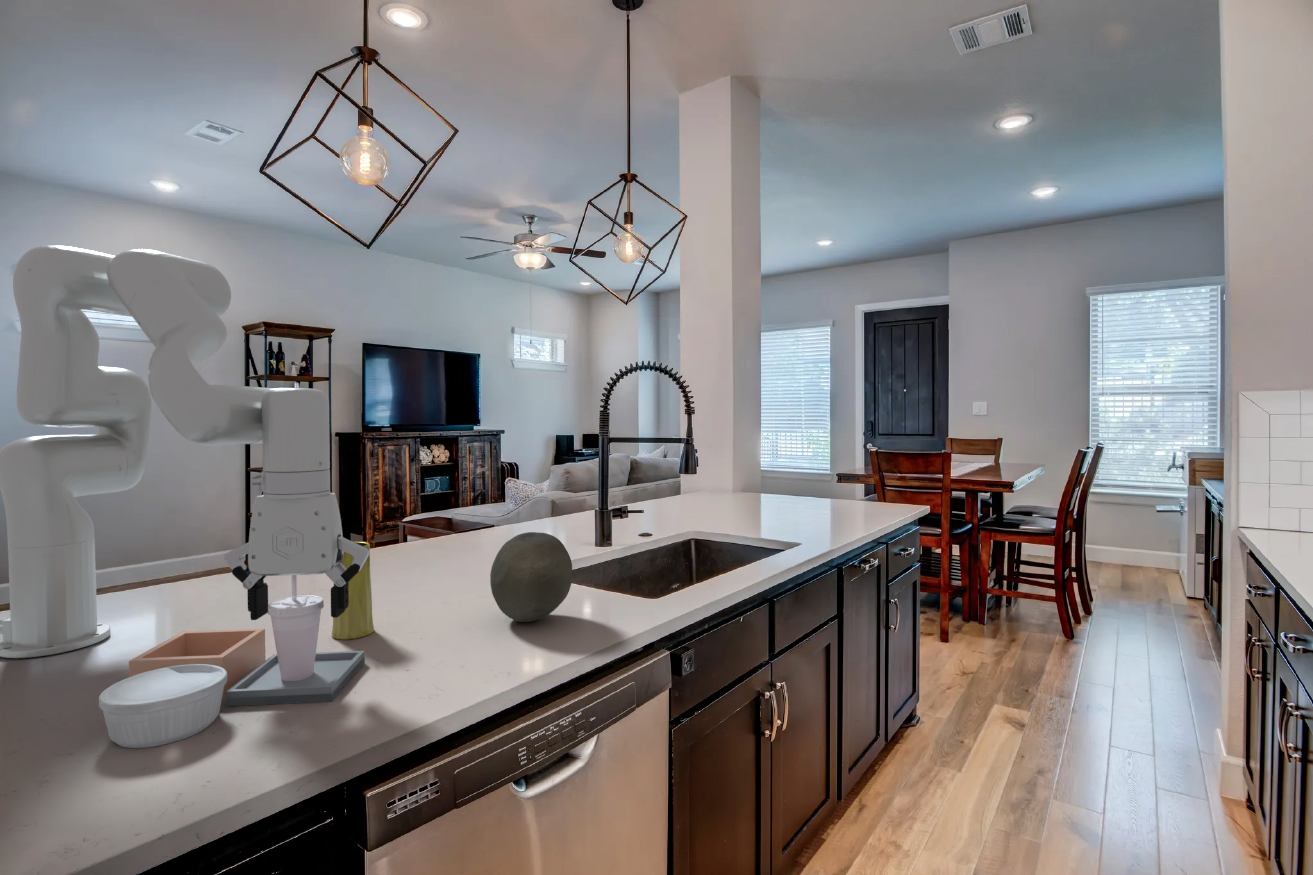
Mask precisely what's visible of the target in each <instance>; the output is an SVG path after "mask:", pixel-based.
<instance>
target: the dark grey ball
mask: <svg viewBox="0 0 1313 875" xmlns="http://www.w3.org/2000/svg"><path fill="white" fill-rule="evenodd" d="M489 576H490V577H489V578H490V580H489V581H490V590H491V594H492V597H493V599H494V601H495V603H496V605H497V607H498V608H499V610H500V611H501V612H502V613H503V614H504V615H505V616H506V617H507V618H509V619H511V620H514V621H517V622H519V623H531V622H536V621H539V620H542V619H544V618H545V617H548V616H549V615H550V614H552V613H553V612H554V611H555V610H556V609H558V607H559V606H560V605H561V604H562V603H563V602H564V601H565V599H566V598H567V596H568V594H569V593H570V589H571V587H572V582H573V563H572V558H571V556H570V554H569V552H568V550H567V548H566V546H565V545H564V543H562V541H561V540H560V539H559V538H557V537H556V536H554V535H552V534H550V533H545V532H536V531H528V532H523V533H519V534H517V535H515V536H513V537H512V538H510V539H508V540H507V541H506V542H505V543H504V544H503V545H502V546H501V547H500V549H499V550H498V552H497V554H496V556H495V557H494V560H493V562H492V565H491V569H490V575H489Z"/></svg>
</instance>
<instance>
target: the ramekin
mask: <svg viewBox="0 0 1313 875" xmlns="http://www.w3.org/2000/svg"><path fill="white" fill-rule="evenodd" d="M226 682H227V671H226V670H225V669H223V668H222V667H219V666H215V665H208V664H189V665H179V666H171V667H165V668H160V669H156V670H152V671H147V672H144V673H140V674H137V675H134V676H131V677H129V676H128V677H127V678H124V679H121V680H120V681H117V682H115V683H113V684H112V685H110V686H108V687H107V688H106V689H104V690H102V692H101V693H100V695H99V696H98V706H99V709H100V710H101V711H102V713H103V717H104V721H105V725H106V729H107V732H108V735H109V738H110V739H111V740H112V742H114V743H115V744H116V745H118V746H119V747H123V748H128V749H129V748H130V749H142V748H152V747H159V746H164V745H168V744H171V743H175V742H178V741H181V740H184V739H186V738H189V737H190V738H191V737H192V736H194V735H196V734H198V733H200V732H202V731H203V730H205V729H207V728H208V727H209V726H211V724H212V723H213V722H214V721H215V719H217V718H218V715H219V712H220V710H221V704H222V699H223V697H222V695H223V689H224V685H225V684H226Z"/></svg>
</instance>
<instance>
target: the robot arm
mask: <svg viewBox="0 0 1313 875" xmlns="http://www.w3.org/2000/svg"><path fill="white" fill-rule="evenodd" d="M12 277H13V278H12V290H13V297H14V302H15V304H16V309H17V313H18V318H19V321H20V329H21V330H20V346H19V358H18V371H17V382H16V383H17V386H16V409H17V411H18V413H19V414H18V415H20V417H21V418H22V420H24V421H25V422H26V423H29V424H31V425H35V426H39V427H44V428H45V427H48V428H97V429H98V432H97V433H98V434H51V435H36V436H34V435H33V436H29V437H23V438H18V439H15V440H13V441H11V442H9V443H8V444H6V445H4V446H3V447H2V448H1V449H0V491H1V492H0V493H1V496H2V497H1V498H2V502H3V504H4V510H5V517H6V530H7V533H6V534H7V553H8V554H7V556H8V557H7V558H8V580H9V581H8V584H9V613H10V614H9V615H10V617H0V634H1V635H2V641H0V658H7V659H26V658H27V659H28V658H38V657H44V656H51V655H57V654H62V653H67V652H70V651H75V650H79V649H83V648H85V647H89V646H91V645H95V644H97V643H100V642H101V641H104V640H105V639H107V638H108V637H109V636H110V635H111V632H112V631H111V626H110V625H108V624H106V623H102V622H101V623H100V622H98V610H97V609H98V607H97V606H98V605H97V575H96V574H97V572H96V571H97V570H96V565H97V564H96V538H95V537H96V536H95V534H96V533H95V525H94V522H93V520H92V517H90V514H88V512H87V511H86V510H85V509H84V508H83V507H82V506H81V505H80V504H79V503H78V501H77V500H76V499H75V498H77V497H83V496H93V495H100V494H101V495H102V494H110V493H118V492H123V491H127V490H131V489H133V488H134V487H135V486H137V485H138V483H140V481H141V480H142V478H143V476H144V473H145V470H146V466H147V459H148V458H147V457H148V448H149V447H148V446H149V438H150V429H151V428H150V426H151V419H152V405H153V403H152V399H153V401H154V403H155V405H156V407H157V408H158V409H159V410H160V412H161V413H162V415H163V416H164V417H165V418H166V420H167V421H168V422H169V424H170V425H171V427H173V428H174V430H175V431H176V432H177V433H178V434H180V436H182V437H184V439H186V440H187V441H189V442H191V443H193V444H197V445H201V446H223V445H224V446H225V445H226V446H227V445H256V444H257V445H259V444H262V471H261V472H260V474H259V475H253V476H252V479H251V484H252V486H254V487H255V486H256V487H261V492H263V494H262V495H257V496H255V500H254V503H253V507H252V508H253V509H252V513H251V519H250V525H249V527H250V528H249V532H248V533H249V534H248V535H249V536H248V542H246V543H244V544H242V545H240V546H238V547H236V548H233V550H230V551H228V552H226V553H225V554H224V555H223V557H224V560H225V561H226V564H227V565H228V567H229V568H230V569H231V574H232V575H233V576H234V578H236V579H237V580H238V581H240V583H241V584H242V587H243V589H244V590H245V589H246V591H247V611H248V612H250V614H249V615H250V620H251V621H257V620H258V619H260V618H261V617H263V616H265V615H267V614H268V605H269V585H268V583H267V582H265V581H264V580H265V579H266V578H267V577H268V576H270V577H271V576H272V577H273V576H292V575H296V576H314V575H323V574H325V575H326V576H327V577H328V578H329V580H331V581H332V583H333V586H331V588H330V617H332V619H333V618H337V617H339V616H340V615H341V614H342V613H343V612H345V609H346V608H347V607H348V604H349V583H348V582H349V581H350V580H351V579H352V578H353V577H354V576H355V575H356V574H357V573H358V572H359V571H360V570H361V569H362V567H363V565H364V563H365V561H366V559H367V558H368V556H369V554H370V555H371V550H370V551H369V549H367V548H365V547H363V546H361V545H358V544H356V543H354V542H355V541H352V540H349V539H347V538H345V537H344V536H343V527H342V518H341V513H340V508H339V504H338V499H337V496H336V493H335V492H331V469H330V468H331V466H330V465H331V461H330V457H331V456H330V455H331V454H330V453H331V452H330V451H331V450H330V449H331V448H330V446H331V444H330V403H329V402H330V401H329V397H328V395H327V394H326V393H325V392H324V391H323V390H320V389H317V388H307V387H306V388H304V387H277V388H274V387H273V388H271V387H261V386H260V387H259V386H258V387H257V386H246V385H244V386H242V385H225V384H224V385H222V384H209V382H207V381H206V380H205V379H204V378H203V376H202V375H201V373H200V372H198V370H197V368H196V366H194V365H195V364H198V363H199V362H200V363H201V362H202V361H204V360H206V359H208V358H211V357H212V356H213V355H214V354H216V353H217V352H218V351H219V350H220V349H221V348H222V346H223V345H224V344H225V342H226V340H227V337H228V336H227V335H228V333H227V332H228V331H227V327H226V325H225V323H224V322H223V320H222V319H221V318H220V317H221V316H223V315H224V314H225V313H226V311H227V310H228V309H229V307H230V306H231V300H232V292H231V288H230V284H229V281H228V280H227V278H226V277H225V275H224V274H223V273H222V272H221V270H219V269H218V268H216V267H215V266H213V265H211V264H209V263H207V262H204V261H202V260H201V261H200V260H196V259H191V258H187V257H183V256H179V255H175V254H171V253H167V252H161V251H159V250H154V249H145V248H144V249H143V248H141V249H140V248H138V249H136V248H135V249H130V250H126V251H122V252H120V253H118V254H116V255H112V254H108V253H104V252H98V251H95V250H90V249H84V248H78V247H73V246H68V245H67V246H66V245H51V244H50V245H49V244H48V245H39V246H36V247H35V246H34V247H33V248H31V249H29V250H28V251H26V252H25V253H23V255H22V256H21V257H20V258H19V260H18V262H17V263H16V266H15V269H14V272H13V275H12ZM83 310H86V311H94V312H100V313H106V314H111V315H112V314H113V315H120V316H128V317H132V318H133V319H134V321H135V322H136V324H137V325H138V326H139V328H140V329H141V330H142V332H143V333H144V334H145V335H146V337H147V338H148V340H149V341H150V343H151V344H152V345H153V347H155V349H154V350H153V352H152V354H151V356H150V359H149V363H148V370H147V371H148V373H147V374H148V375H147V377H148V380H147V381H148V384H147V382H146V381H145V380H144V378H143V377H142V376H141V375H140V374H138V373H136V372H135V371H133V370H131V369H127V368H122V367H114V366H113V367H112V366H100V365H99V352H100V336H99V334H98V332H97V329H96V328H95V326H94V325H93V323H92V321H91V320H90V319H89V317H88V316H87V315H86V313H85V312H83ZM343 551H344V552H346V553H349V554H351V555H352V556H353V557H354V560H353V562H352V564H351V566H350V567H349V568H348V569H346V568H345V567H344V566H343V565H342V563H341V562H342V560H343ZM246 555H247V564H245V561H244V557H245V556H246Z"/></svg>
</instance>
